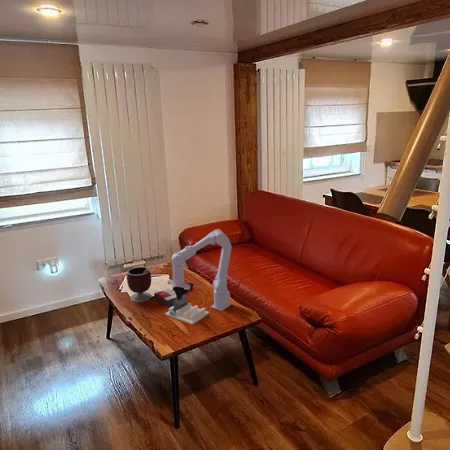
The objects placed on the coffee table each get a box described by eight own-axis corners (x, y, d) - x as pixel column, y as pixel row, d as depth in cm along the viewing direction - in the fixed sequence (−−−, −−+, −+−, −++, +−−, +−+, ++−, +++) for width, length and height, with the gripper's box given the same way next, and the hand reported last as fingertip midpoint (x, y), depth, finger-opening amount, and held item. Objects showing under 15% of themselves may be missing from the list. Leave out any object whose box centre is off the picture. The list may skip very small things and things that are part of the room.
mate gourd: (124, 301, 226) (121, 269, 221) (135, 291, 239) (132, 261, 234) (149, 304, 223) (146, 271, 217) (158, 293, 236) (156, 263, 230)
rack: (182, 304, 221) (182, 299, 220) (209, 313, 210) (208, 307, 210) (165, 315, 210) (165, 309, 209) (192, 324, 199) (192, 318, 198)
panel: (184, 305, 217) (183, 294, 216) (187, 307, 216) (187, 295, 214) (173, 312, 210) (172, 300, 208) (177, 313, 209) (176, 301, 207)
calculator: (169, 287, 236) (183, 294, 225) (169, 293, 237) (183, 301, 226) (153, 292, 230) (167, 300, 218) (154, 299, 231) (167, 307, 219)
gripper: (163, 275, 208) (164, 298, 212) (183, 281, 200) (184, 304, 204) (172, 270, 214) (173, 293, 217) (192, 276, 206) (193, 299, 209)
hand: (179, 298), depth 211 cm, fingers closed, pressing on panel
